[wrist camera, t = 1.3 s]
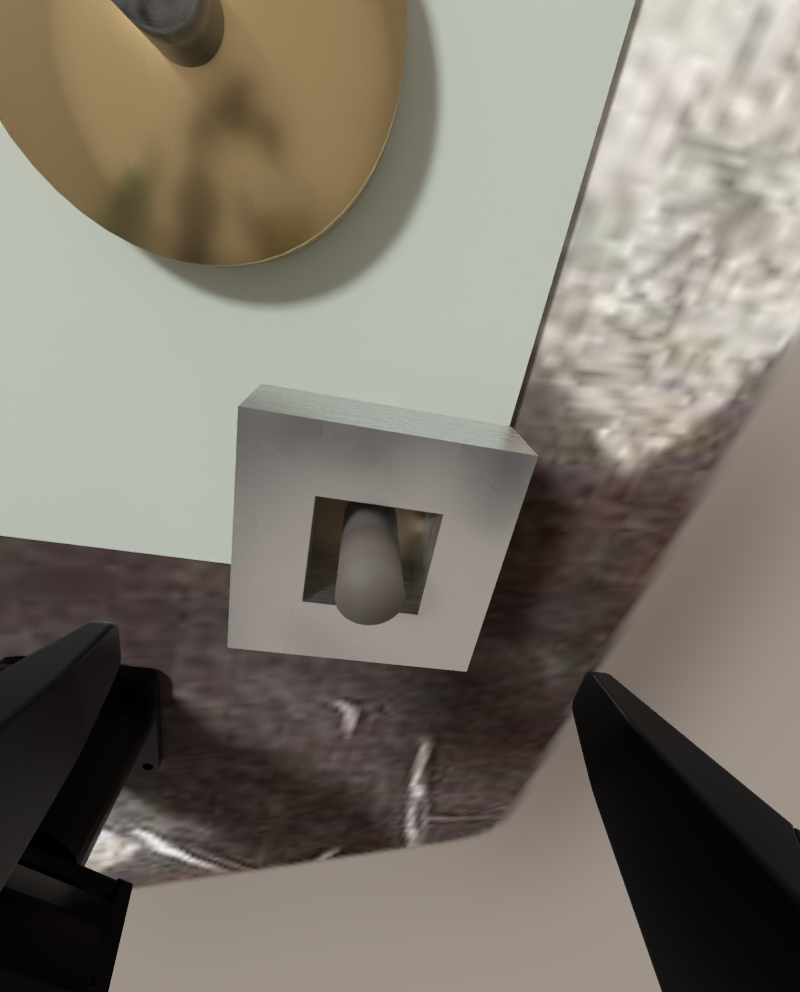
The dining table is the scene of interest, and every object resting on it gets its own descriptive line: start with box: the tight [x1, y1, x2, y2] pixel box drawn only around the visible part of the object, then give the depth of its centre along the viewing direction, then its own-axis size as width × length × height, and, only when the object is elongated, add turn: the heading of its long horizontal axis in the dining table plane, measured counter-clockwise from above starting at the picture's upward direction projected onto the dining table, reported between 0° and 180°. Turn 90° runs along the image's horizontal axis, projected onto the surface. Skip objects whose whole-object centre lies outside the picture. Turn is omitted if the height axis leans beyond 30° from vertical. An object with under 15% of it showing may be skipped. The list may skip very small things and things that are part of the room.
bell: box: [0, 0, 407, 266], centre depth 10 cm, size 10×10×4 cm
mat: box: [0, 0, 635, 564], centre depth 14 cm, size 21×18×1 cm
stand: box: [312, 497, 424, 625], centre depth 14 cm, size 5×5×7 cm
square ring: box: [227, 383, 538, 672], centre depth 13 cm, size 7×7×2 cm
